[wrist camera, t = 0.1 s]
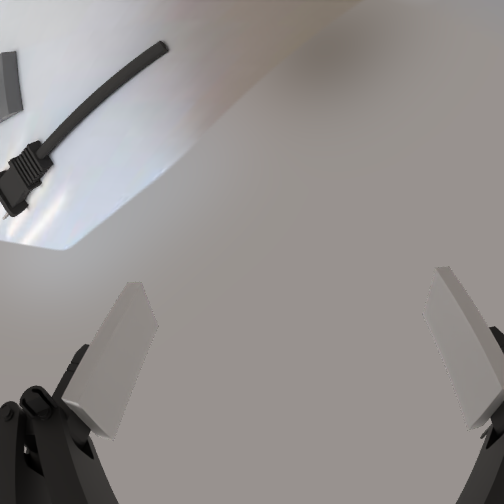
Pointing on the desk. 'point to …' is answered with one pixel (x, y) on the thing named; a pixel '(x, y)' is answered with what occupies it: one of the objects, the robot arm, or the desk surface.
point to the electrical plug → (35, 156)
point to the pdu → (9, 86)
